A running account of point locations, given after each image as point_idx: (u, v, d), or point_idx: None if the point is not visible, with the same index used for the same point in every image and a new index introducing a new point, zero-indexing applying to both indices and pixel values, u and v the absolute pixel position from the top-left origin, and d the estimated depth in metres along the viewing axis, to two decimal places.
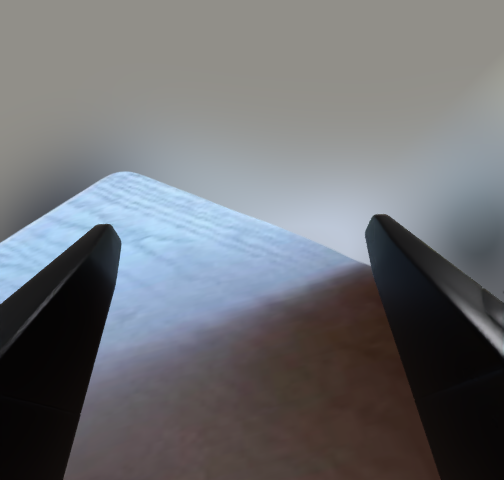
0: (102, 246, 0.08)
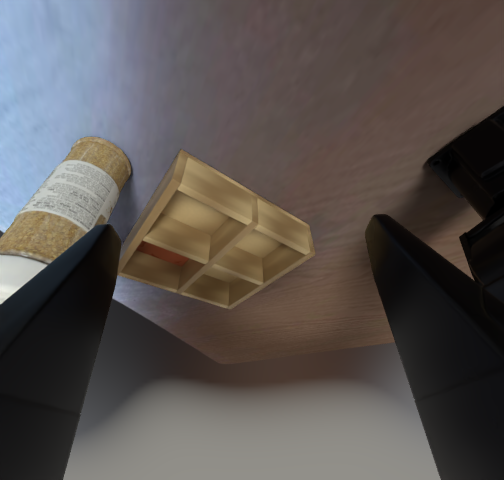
0: (102, 246, 0.08)
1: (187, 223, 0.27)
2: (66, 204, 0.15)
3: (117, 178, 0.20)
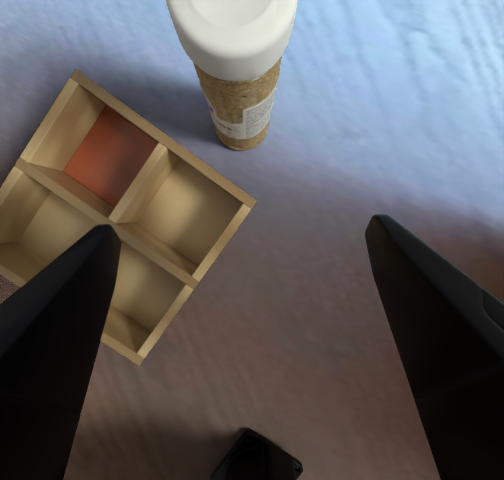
0: (102, 246, 0.08)
1: (158, 195, 0.22)
2: (271, 98, 0.14)
3: (244, 140, 0.19)
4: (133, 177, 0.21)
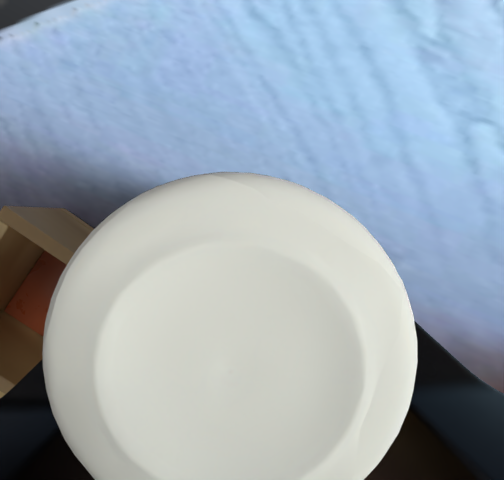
0: None
1: None
2: None
3: None
4: None
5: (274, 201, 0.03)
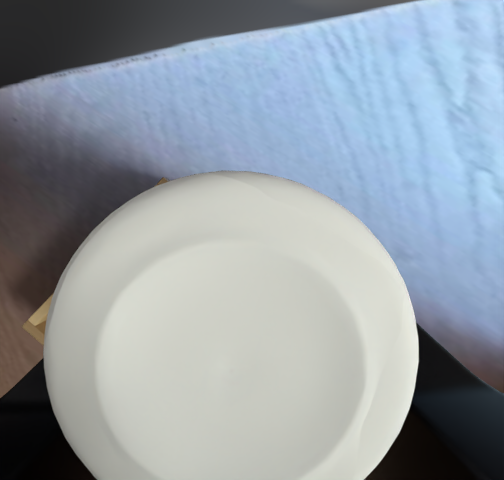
0: None
1: None
2: None
3: None
4: None
5: (275, 200, 0.03)
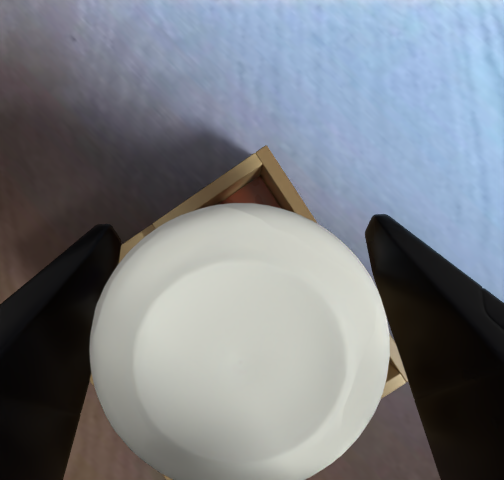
0: (102, 246, 0.08)
1: None
2: None
3: None
4: None
5: (275, 228, 0.03)
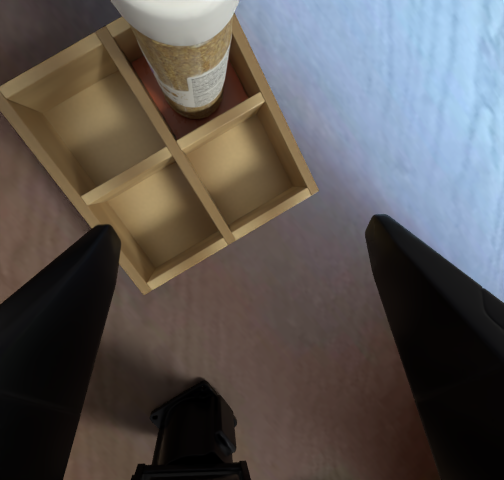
0: (102, 246, 0.08)
1: (219, 138, 0.21)
2: (221, 67, 0.13)
3: (193, 108, 0.17)
4: None
5: None
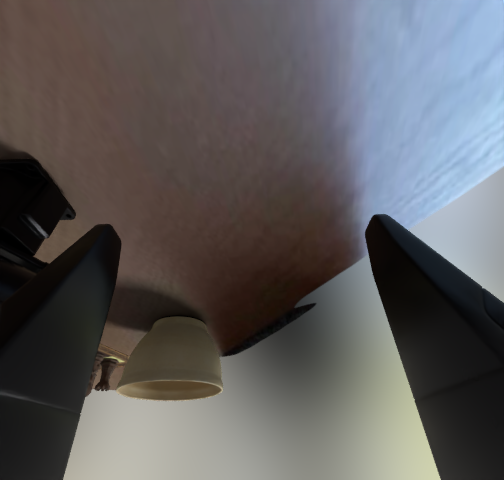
0: (102, 246, 0.08)
1: None
2: None
3: None
4: None
5: None
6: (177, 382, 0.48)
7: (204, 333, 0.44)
